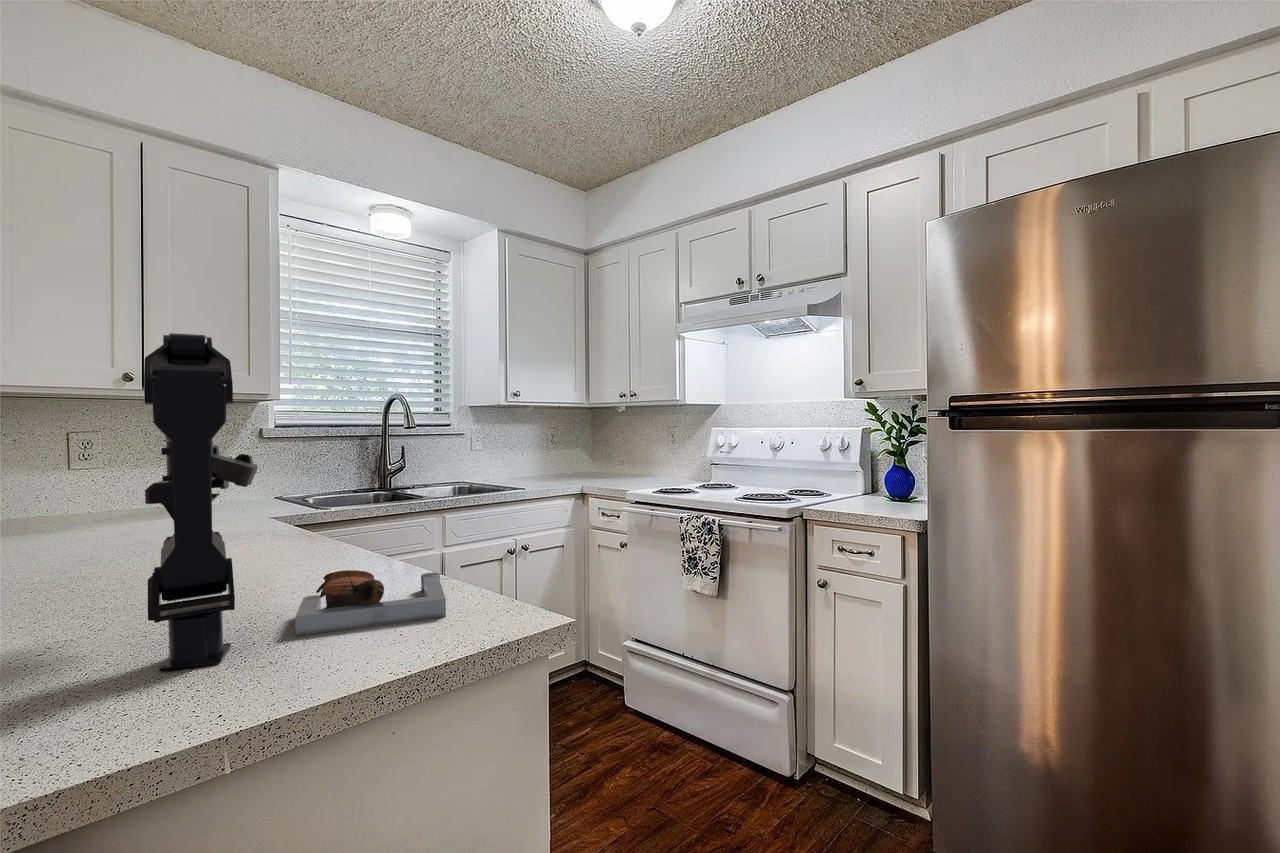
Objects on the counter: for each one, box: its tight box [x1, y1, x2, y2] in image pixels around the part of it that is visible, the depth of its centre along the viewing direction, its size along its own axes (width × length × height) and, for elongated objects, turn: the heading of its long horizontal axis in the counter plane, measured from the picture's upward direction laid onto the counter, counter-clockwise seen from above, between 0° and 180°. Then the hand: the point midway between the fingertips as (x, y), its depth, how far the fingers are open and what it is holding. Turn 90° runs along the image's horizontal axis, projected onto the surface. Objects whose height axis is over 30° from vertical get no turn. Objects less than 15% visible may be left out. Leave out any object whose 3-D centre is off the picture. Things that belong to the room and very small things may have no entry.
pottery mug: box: [315, 569, 385, 609], centre depth 98 cm, size 12×9×8 cm
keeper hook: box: [294, 572, 447, 637], centre depth 101 cm, size 18×21×3 cm
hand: (192, 543), depth 94 cm, fingers closed
